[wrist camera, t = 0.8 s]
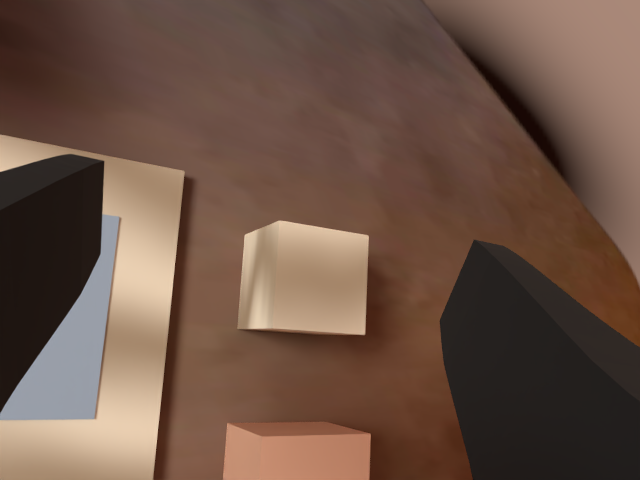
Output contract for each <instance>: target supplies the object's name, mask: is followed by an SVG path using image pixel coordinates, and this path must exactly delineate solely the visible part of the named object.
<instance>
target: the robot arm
mask: <svg viewBox="0 0 640 480" xmlns="http://www.w3.org/2000/svg"><path fill="white" fill-rule="evenodd" d="M103 186H104V161H103V160H98V159H94V158H89V157H84V156H80V155H75V154H65V155H59V156H55V157H51V158H47V159H43V160H40V161H36V162H32V163H29V164H26V165H22V166H19V167H15V168H12V169H8V170H5V171H2V172H0V413H1V411H2V410H3V408H4V406H5V404H6V403H7V401H8V400H9V398H10V397H11V395H12V393H13V392H14V390H15V389H16V387H17V386H18V384H19V383H20V381H21V380H22V378H23V377H24V375H25V374H26V373H27V371H28V370H29V368H30V367H31V365H32V364H33V363H34V361H35V360H36V358H37V357H38V355H39V354H40V353H41V351H42V350H43V348H44V347H45V346H46V344H47V343H48V341H49V340H50V338H51V337H52V336H53V334H54V333H55V331H56V330H57V328H58V327H59V326H60V324H61V323H62V321H63V320H64V318H65V317H66V315H67V314H68V313H69V311H70V310H71V308H72V307H73V305H74V304H75V302H76V301H77V299H78V298H79V296H80V295H81V293H82V291H83V289H84V287H85V285H86V283H87V281H88V279H89V277H90V275H91V273H92V271H93V269H94V267H95V265H96V263H97V261H98V258H99V256H100V254H101V236H102V211H103ZM440 329H441V342H442V351H443V360H444V365H445V370H446V374H447V378H448V382H449V386H450V390H451V394H452V398H453V402H454V406H455V409H456V413H457V417H458V421H459V425H460V428H461V432H462V436H463V440H464V444H465V447H466V451H467V455H468V459H469V463H470V468H471V472H472V477H473V480H640V347H638V346H637V345H635V344H634V343H632V342H631V341H629V340H628V339H627V338H625V337H624V336H622V335H621V334H620V333H618V332H617V331H616V330H614V329H613V328H611V327H610V326H609V325H607V324H606V323H605V322H603V321H602V320H600V319H599V318H598V317H596V316H595V315H594V314H593V313H591V312H590V311H589V310H587V309H586V308H585V307H583V306H582V305H581V304H580V303H578V302H577V301H576V300H575V299H573V298H572V297H571V296H570V295H568V294H567V293H566V292H565V291H563V290H562V289H561V288H560V287H558V286H557V285H556V284H555V283H553V282H552V281H551V280H550V279H548V278H547V277H546V276H545V275H543V274H542V273H541V272H540V271H538V270H537V269H536V268H535V267H533V266H532V265H531V264H529V263H528V262H527V261H525V260H524V259H523V258H521V257H520V256H519V255H517V254H516V253H514V252H513V251H511V250H510V249H508V248H506V247H504V246H501V245H497V244H492V243H487V242H483V241H478V240H474V241H473V243H472V246H471V248H470V250H469V253H468V255H467V258H466V260H465V262H464V265H463V267H462V269H461V272H460V274H459V276H458V279H457V281H456V283H455V286H454V288H453V290H452V293H451V295H450V297H449V300H448V302H447V305H446V307H445V309H444V312H443V314H442V316H441V319H440Z"/></svg>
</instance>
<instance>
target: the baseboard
mask: <svg viewBox="0 0 640 480" xmlns="http://www.w3.org/2000/svg"><path fill="white" fill-rule="evenodd" d="M65 154H75V155H80V156H84V157H89V158H94V159H98V160H103V161H104V186H103V211H102V236H101V254H100V256H99V258H98V261H97V263H96V265H95V267H94V269H93V271H92V273H91V275H90V277H89V279H88V281H87V283H86V285H85V287H84V289H83V291H82V293H81V295H80V296H79V298H78V299H77V301H76V302H75V304H74V305H73V307H72V308H71V310H70V311H69V313H68V314H67V315H66V317H65V318H64V320H63V321H62V323H61V324H60V326H59V327H58V328H57V330H56V331H55V333H54V334H53V336H52V337H51V338H50V340H49V341H48V343H47V344H46V346H45V347H44V348H43V350H42V351H41V353H40V354H39V355H38V357H37V358H36V360H35V361H34V363H33V364H32V365H31V367H30V368H29V370H28V371H27V373H26V374H25V375H24V377H23V378H22V380H21V381H20V383H19V384H18V386H17V387H16V389H15V390H14V392H13V393H12V395H11V397H10V398H9V400H8V401H7V403H6V404H5V406H4V408H3V410H2V411H1V413H0V480H153V474H154V464H155V454H156V444H157V435H158V425H159V415H160V405H161V396H162V386H163V376H164V367H165V357H166V347H167V337H168V328H169V318H170V308H171V298H172V289H173V279H174V269H175V260H176V250H177V240H178V230H179V221H180V211H181V201H182V191H183V182H184V172H185V171H181V170H176V169H171V168H166V167H161V166H156V165H151V164H146V163H141V162H136V161H131V160H126V159H121V158H116V157H111V156H106V155H100V154H95V153H90V152H85V151H80V150H75V149H70V148H65V147H60V146H55V145H50V144H45V143H40V142H35V141H30V140H25V139H20V138H15V137H10V136H5V135H0V172H2V171H5V170H8V169H12V168H15V167H19V166H22V165H26V164H29V163H32V162H36V161H40V160H43V159H47V158H51V157H55V156H59V155H65Z"/></svg>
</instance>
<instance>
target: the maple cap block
mask: <svg viewBox="0 0 640 480" xmlns="http://www.w3.org/2000/svg"><path fill="white" fill-rule="evenodd" d="M368 240H369V236H368V235H362V234H356V233H350V232H344V231H338V230H333V229H327V228H321V227H315V226H309V225H303V224H297V223H291V222H285V221H277V222H275V223H273V224H270V225H268V226H265V227H263V228H260V229H258V230H256V231H253V232H251V233H248V234H246V235H245V240H244V252H243V265H242V278H241V291H240V303H239V316H238V329H243V330H258V331H273V332H288V333H302V334H317V335H365V324H366V296H367V268H368Z"/></svg>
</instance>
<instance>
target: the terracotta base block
mask: <svg viewBox="0 0 640 480" xmlns="http://www.w3.org/2000/svg"><path fill="white" fill-rule="evenodd" d="M370 441H371V434H370V433H366V432H362V431H359V430H355V429H351V428H348V427H344V426H340V425H337V424H333V423H329V422H266V423H228V424H227V436H226V449H225V461H224V474H223V480H369V472H370Z"/></svg>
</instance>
